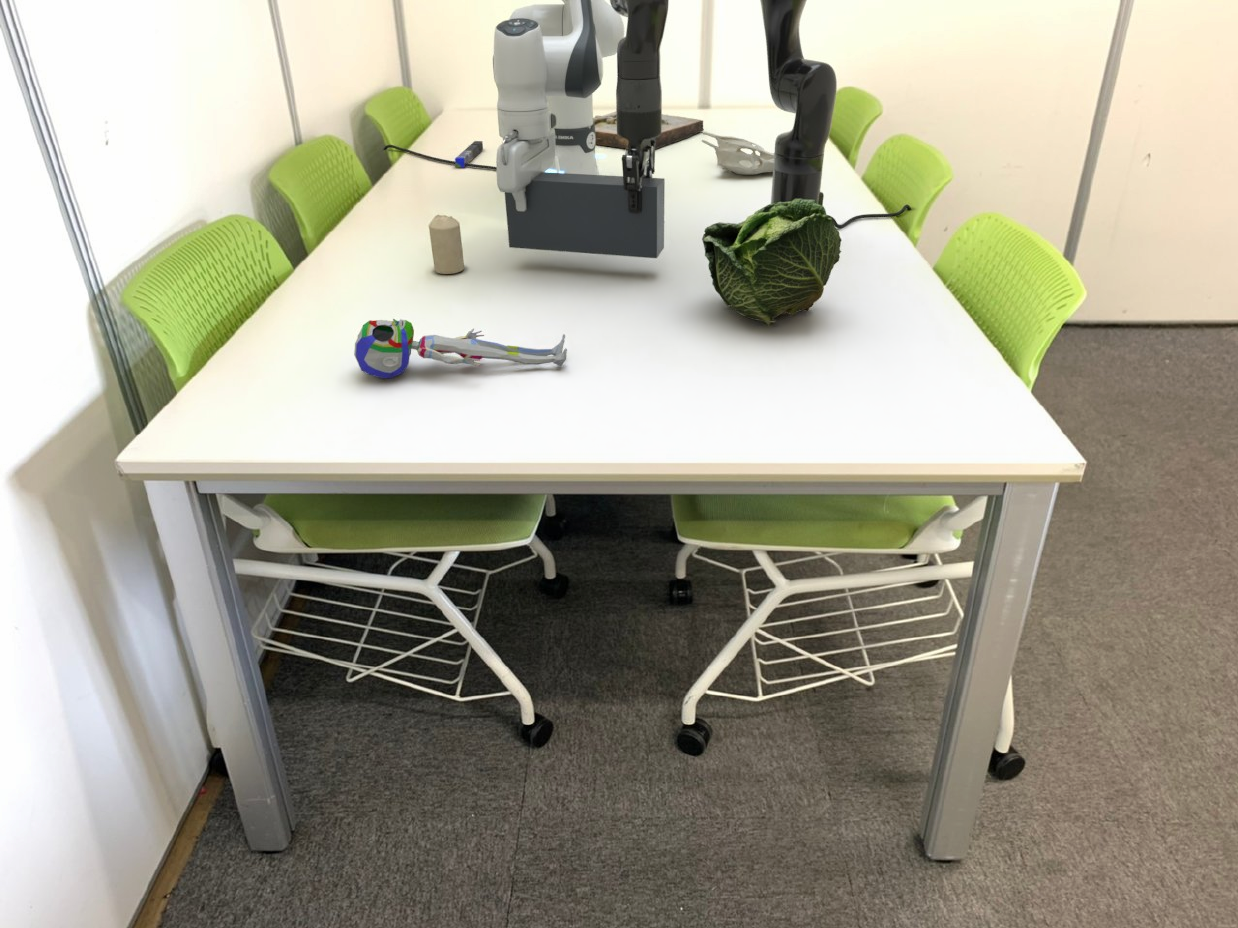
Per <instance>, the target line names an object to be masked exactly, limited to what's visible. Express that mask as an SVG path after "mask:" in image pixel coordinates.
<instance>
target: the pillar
mask: <svg viewBox="0 0 1238 928" xmlns="http://www.w3.org/2000/svg"><path fill="white" fill-rule="evenodd" d="M483 150H484V145H483V141H482V140H474V141H473V142H471V144H470V145H468V146H467V147H466V148H465V149H463V151H462V152H461V153H460V154H458V155H457V156H456V157H455V158H454V161H455V164H454V165H455V168H457V169H458V168H465V167H466V166H465V163H468V164H470V163H471V162H472V160H474V159H475V158H476V157H477V156H478V155H479V154H480V153H481V152H482V151H483Z"/></svg>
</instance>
